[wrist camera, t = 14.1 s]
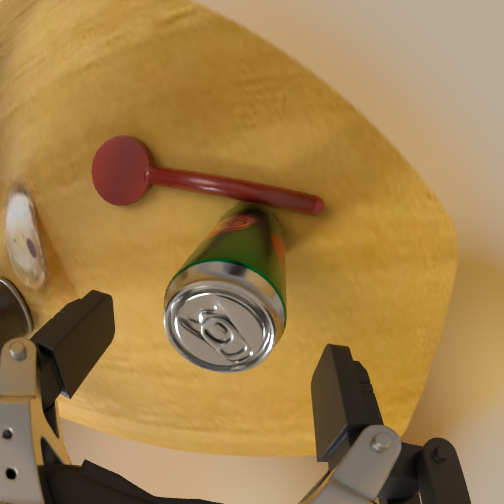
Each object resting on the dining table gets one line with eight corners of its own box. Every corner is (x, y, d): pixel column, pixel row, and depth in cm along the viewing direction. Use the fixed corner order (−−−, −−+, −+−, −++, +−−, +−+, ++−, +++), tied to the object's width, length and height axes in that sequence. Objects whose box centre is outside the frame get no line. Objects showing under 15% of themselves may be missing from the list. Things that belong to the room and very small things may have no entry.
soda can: (255, 189, 20) (223, 240, 9) (297, 242, 21) (313, 345, 10) (203, 230, 21) (130, 315, 10) (245, 279, 23) (214, 394, 11)
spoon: (95, 198, 21) (85, 202, 20) (100, 134, 19) (91, 134, 18) (313, 241, 21) (315, 247, 20) (331, 168, 19) (334, 170, 18)
